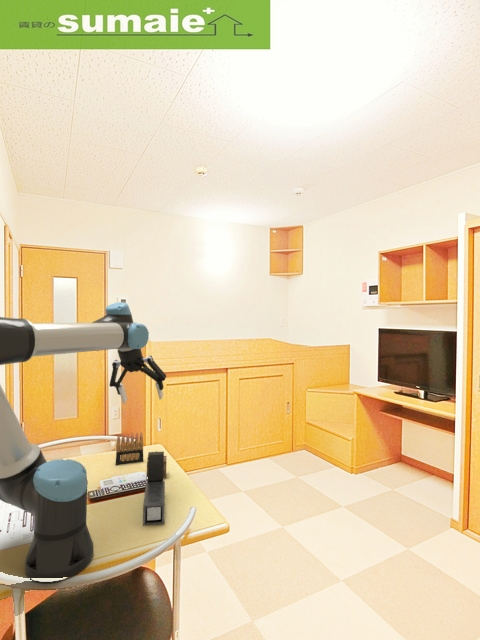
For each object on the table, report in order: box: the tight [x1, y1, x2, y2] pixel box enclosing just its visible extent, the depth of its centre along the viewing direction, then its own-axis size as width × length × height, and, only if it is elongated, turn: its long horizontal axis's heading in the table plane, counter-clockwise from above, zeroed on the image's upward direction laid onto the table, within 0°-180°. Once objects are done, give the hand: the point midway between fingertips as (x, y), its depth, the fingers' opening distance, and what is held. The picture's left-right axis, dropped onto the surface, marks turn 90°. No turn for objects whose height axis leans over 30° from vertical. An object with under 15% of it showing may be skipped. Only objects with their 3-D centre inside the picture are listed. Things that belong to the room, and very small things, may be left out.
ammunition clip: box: [115, 432, 144, 466], centre depth 149 cm, size 11×2×12 cm, turn 111°
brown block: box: [146, 455, 168, 479], centre depth 138 cm, size 5×7×6 cm
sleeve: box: [142, 480, 166, 527], centre depth 114 cm, size 14×6×6 cm, turn 11°
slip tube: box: [147, 451, 165, 521], centre depth 118 cm, size 22×5×14 cm, turn 11°
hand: (143, 399), depth 134 cm, fingers open, 13 cm apart
